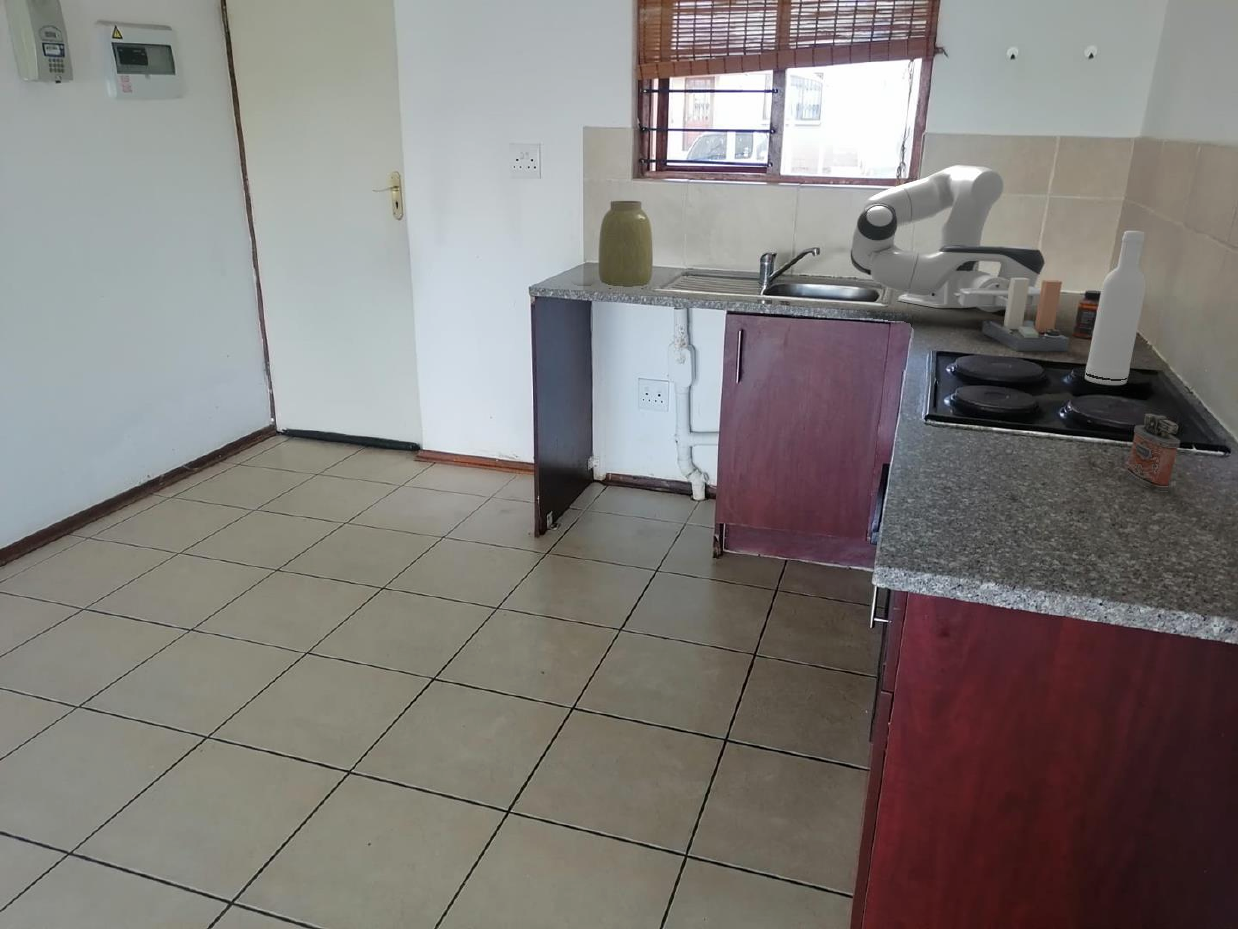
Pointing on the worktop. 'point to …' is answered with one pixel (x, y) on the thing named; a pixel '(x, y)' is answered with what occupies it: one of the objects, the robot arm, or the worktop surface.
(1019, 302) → the cream rectangular block
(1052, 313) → the tall salmon pillar
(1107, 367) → the bottle
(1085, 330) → the supplement bottle
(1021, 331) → the rocker
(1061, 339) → the platform
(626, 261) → the vase
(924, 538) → the worktop surface
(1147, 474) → the lighter
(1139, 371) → the worktop surface
